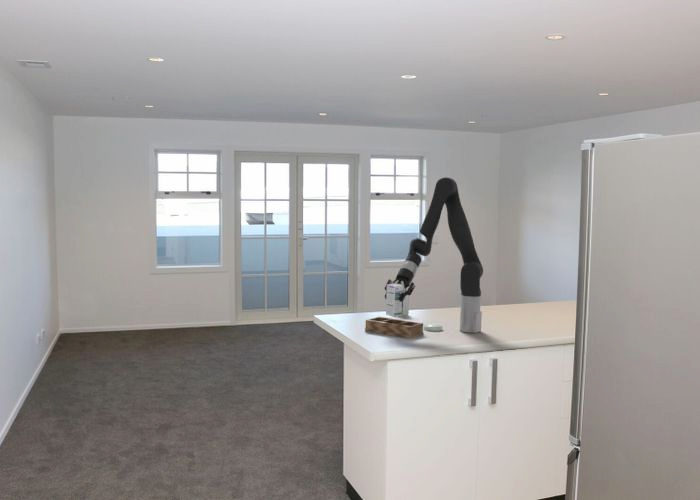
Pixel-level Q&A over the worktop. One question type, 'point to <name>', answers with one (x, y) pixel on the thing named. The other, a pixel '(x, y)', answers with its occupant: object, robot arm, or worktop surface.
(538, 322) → the worktop surface
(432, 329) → the dish
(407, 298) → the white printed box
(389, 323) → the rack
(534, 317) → the worktop surface
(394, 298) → the syrup box
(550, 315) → the worktop surface
